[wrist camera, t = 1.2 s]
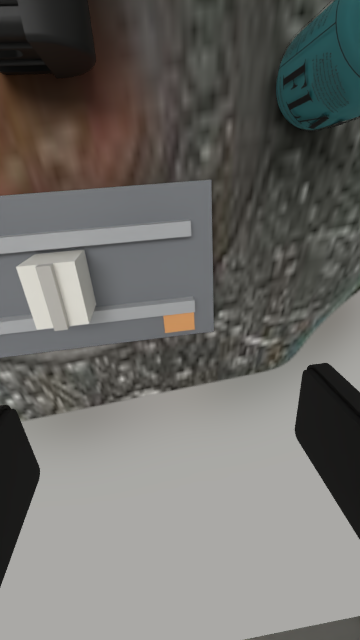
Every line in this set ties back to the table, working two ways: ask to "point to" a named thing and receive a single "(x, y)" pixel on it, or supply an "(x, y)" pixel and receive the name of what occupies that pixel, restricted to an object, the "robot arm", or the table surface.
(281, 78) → the beverage bottle
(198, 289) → the breaker panel
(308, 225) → the table surface
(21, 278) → the knob
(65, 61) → the end cap
